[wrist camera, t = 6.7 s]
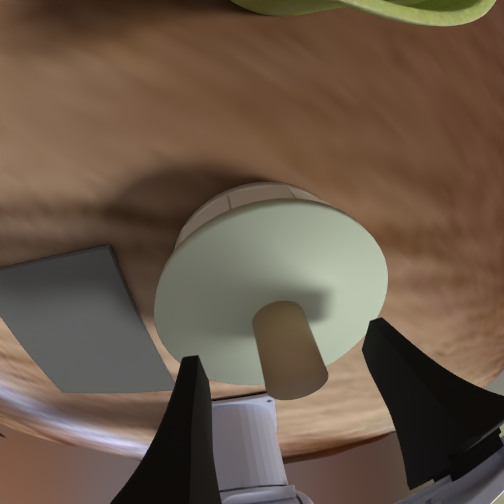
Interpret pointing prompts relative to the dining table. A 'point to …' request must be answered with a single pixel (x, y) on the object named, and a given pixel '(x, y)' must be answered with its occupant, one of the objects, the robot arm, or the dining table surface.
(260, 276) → the lid
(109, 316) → the mat
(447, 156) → the dining table surface
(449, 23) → the plant pot
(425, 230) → the dining table surface
